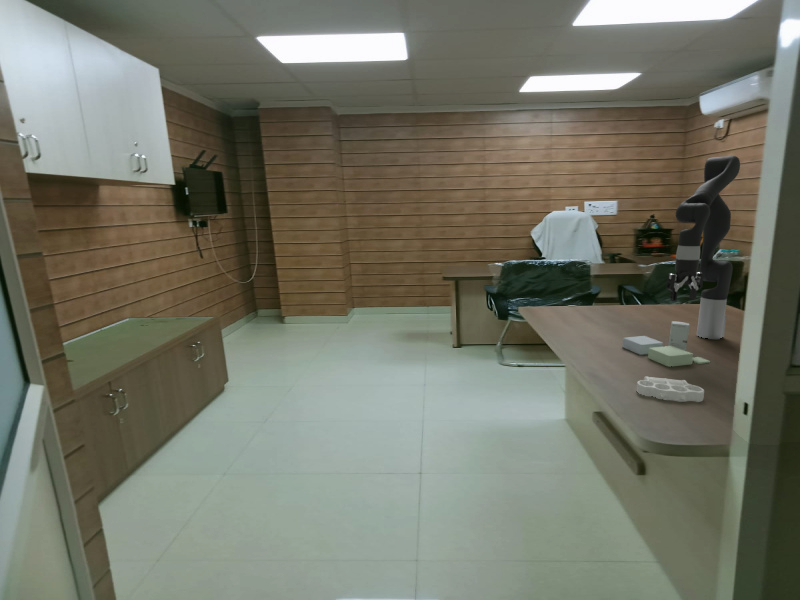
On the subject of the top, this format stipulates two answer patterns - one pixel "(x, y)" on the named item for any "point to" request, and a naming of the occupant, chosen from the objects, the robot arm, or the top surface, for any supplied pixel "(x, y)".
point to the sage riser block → (670, 356)
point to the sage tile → (699, 360)
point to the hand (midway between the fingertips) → (682, 300)
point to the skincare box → (679, 335)
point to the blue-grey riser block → (640, 344)
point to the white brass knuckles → (670, 389)
